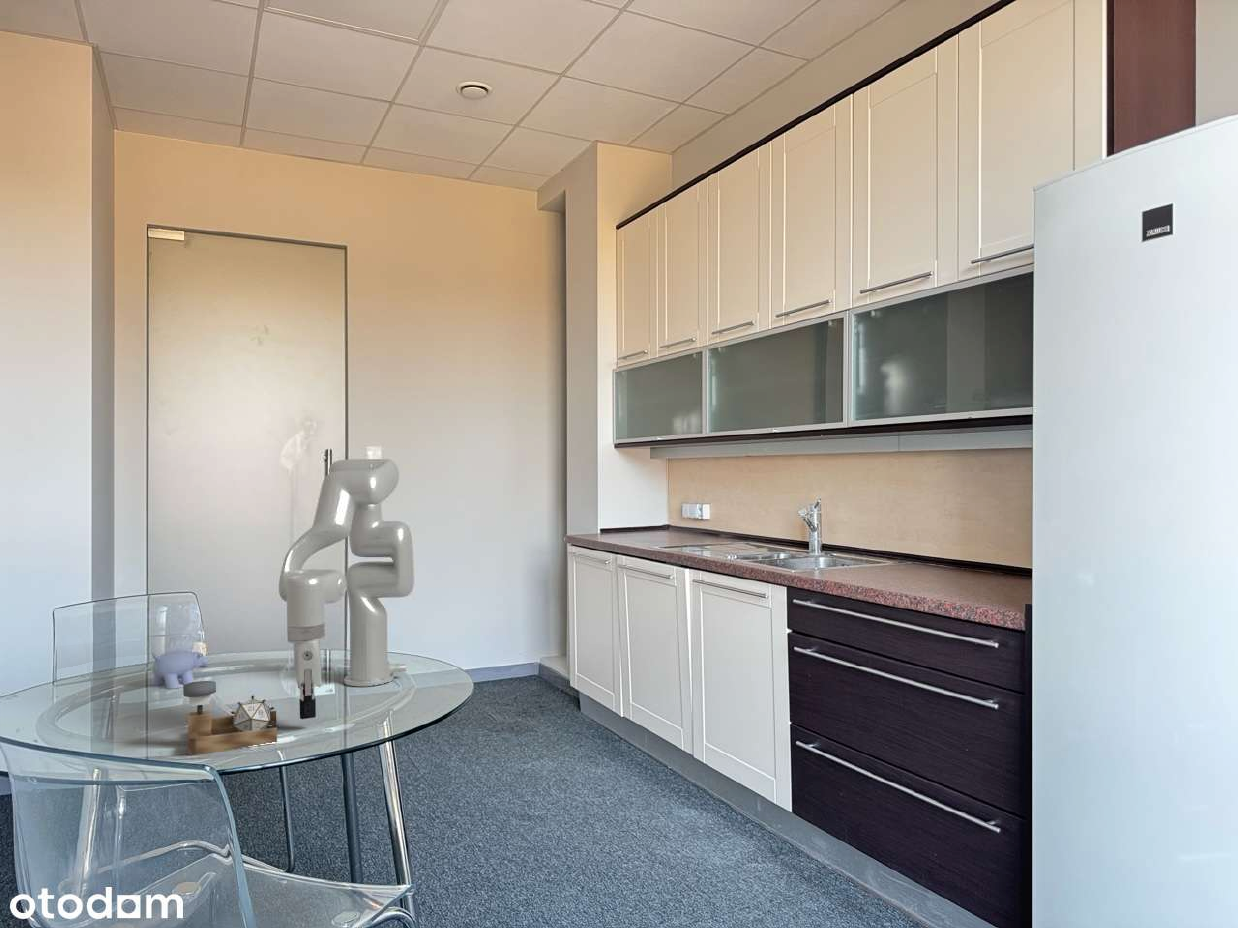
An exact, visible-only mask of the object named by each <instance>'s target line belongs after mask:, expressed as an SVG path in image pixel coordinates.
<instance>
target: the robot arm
mask: <svg viewBox="0 0 1238 928" xmlns="http://www.w3.org/2000/svg"><path fill="white" fill-rule="evenodd" d="M399 479H400V470H399V467H398V465H397V464H396V462H394V461H393V460H391V459H387V458H377V459H376V458H375V459H374V458H373V459H372V458H369V459H368V458H365V459H363V458H351V459H349V458H348V459H341V460H339V459H338V460H337V461H333V462H332V463H331V464H330V466H329V468H328V474H327V475H326V476H324V478H323V481H322V485H321V488H320V494H319V497H318V502H317V507H316V511H315V514H314V519H313V524H312V526H311V527H310V528H309V529H308V530H306V531H305V532H304V533H303V534H302V535H301V536H300V537H298V539H296V541H295V542H294V543H293V544H292V545H291V547H290V548H289V549H288V551H287V553H286V555H285V556H284V559H283V563H282V567H281V572H280V575H279V579H278V593H279V596H280V598H281V599H282V600H283V601H284V602H286V625H287V626H286V627H287V629H286V630H287V632H286V633H287V636H286V637H287V642H288V643H290V644H293V663H294V664H293V665H294V673H295V681H296V685H297V688H298V690H300V691H299V692H300V697H299V719H300V720H307V719H313V718H316V717H317V713H316V712H317V709H316V696H315V687H318V688H321V687H322V683H323V682H322V655H321V653H322V652H321V642H320V641H322V640H324V639H325V636H326V635H325V630H326V629H325V605H327V604H334V603H337V602H339V601H340V600H341V599H342V598H343V597H344V596H345V594H346V592H347V598H348V606H349V649H350V650H349V662H350V663H349V665H350V667H349V668H350V672H349V673H350V674H349V675H346V676H345V677H344V679H343V682H344V684H345V685H347V686H350V687H374V686H380V685H384V683H385V684H387V682H388V683H391V682H392V681H393V680H394V678H395V677H394V673H396V672H399V673H400V672H406V671H407V670H406V669H407V666H406V663H390V662H389V660H388V613H387V610H386V608H385V606H384V605H383V604H382V602H381V601H380V599H382V598H384V599H385V598H386V599H388V598H405V597H408V596H410V595H411V594H412V592H413V590H414V583H415V578H414V577H415V575H414V574H415V571H414V552H413V539H412V531H411V529H410V526H409V525H408V524H407V523H406V522H403V521H399V520H392V521H391V520H384V519H383V513H382V502H384V501H385V500H386V499H387V498H388V497H389V496H390V495H391V494H392V493H393V492H394V491H395V489H396V488H397V485H398V483H399ZM348 537H349V539H348V540H349V548H350V550H351V553H352V554H353V556H355V557H360V558H390V559H392V561H375V560H374V561H359V562H356V563H354V564H352V565H350V566H349V568H348V569H347V570H346V572H345V574H344V573H343V572H342V571H340V570H337V569H314V568H313V569H302V568H303V566H304V564H305V563H306V562H307V560H308V559H309V558H310V557H311V556H313V555H314V554H316V553H318V552H319V551H322V550H323V549H326V548H329V547H330V546H333V545H335V544H337V543H340V542H342V541H344V540H345V539H346V538H348ZM379 684H380V685H379ZM373 685H374V686H373Z"/></svg>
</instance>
